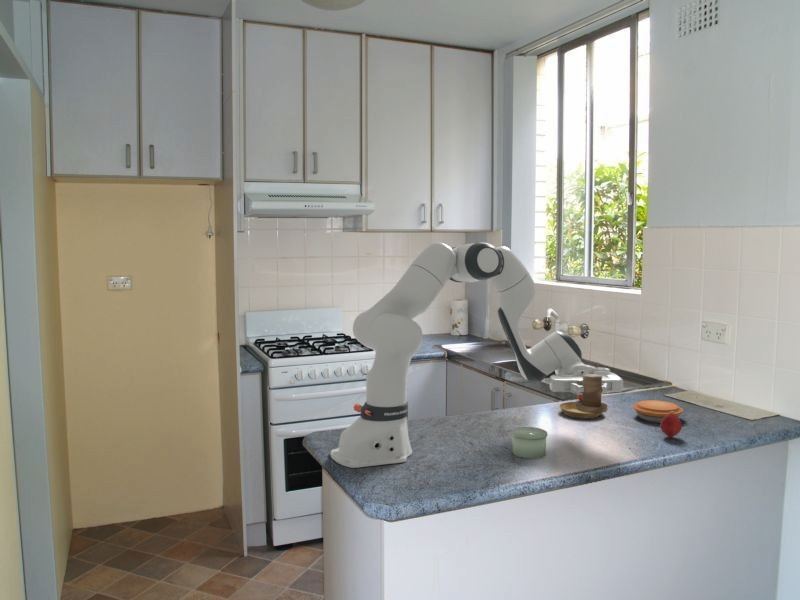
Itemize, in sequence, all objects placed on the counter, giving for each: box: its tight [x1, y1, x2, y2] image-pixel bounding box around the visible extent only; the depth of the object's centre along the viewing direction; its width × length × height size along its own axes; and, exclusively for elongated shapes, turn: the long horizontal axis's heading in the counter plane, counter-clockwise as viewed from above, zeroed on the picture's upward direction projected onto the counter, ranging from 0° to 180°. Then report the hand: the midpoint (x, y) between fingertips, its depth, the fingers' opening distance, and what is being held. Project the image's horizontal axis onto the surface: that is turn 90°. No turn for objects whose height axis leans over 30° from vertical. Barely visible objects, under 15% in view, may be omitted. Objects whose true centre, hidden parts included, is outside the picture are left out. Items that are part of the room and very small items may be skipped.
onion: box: [659, 411, 683, 439], centre depth 200 cm, size 6×6×8 cm
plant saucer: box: [558, 401, 603, 419], centre depth 226 cm, size 15×15×3 cm
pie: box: [632, 399, 684, 424], centre depth 221 cm, size 16×16×5 cm
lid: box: [576, 374, 608, 414], centre depth 185 cm, size 8×8×9 cm
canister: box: [511, 426, 548, 460], centre depth 186 cm, size 10×10×6 cm
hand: (593, 390), depth 184 cm, fingers closed on lid, 5 cm apart
